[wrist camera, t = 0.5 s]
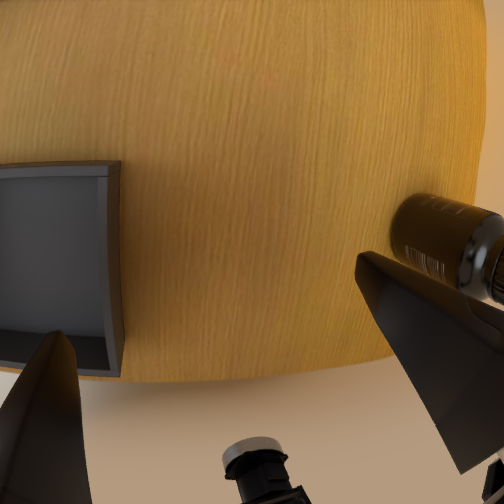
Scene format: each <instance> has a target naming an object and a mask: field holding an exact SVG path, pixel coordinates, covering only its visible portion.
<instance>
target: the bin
mask: <svg viewBox="0 0 504 504" xmlns="http://www.w3.org/2000/svg"><path fill="white" fill-rule="evenodd" d="M120 171H121V161H52V162H29V163H13V164H0V366H2V367H9V368H15V369H24V368H25V366H26V364H27V363H28V361H29V360H30V358H31V357H32V355H33V353H34V352H35V350H36V349H37V347H38V346H39V344H40V343H41V341H42V340H43V338H44V337H45V336H46V334H47V333H48V332H50V331H54V330H61V331H62V332H63V333H64V335H65V336H66V338H67V339H68V340H69V342H70V343H71V345H72V346H73V348H74V350H75V355H76V365H77V373H78V375H81V376H97V377H118V378H119V377H120V374H121V365H122V358H123V350H124V343H125V336H124V326H123V314H122V300H121V283H120V257H119V196H120Z"/></svg>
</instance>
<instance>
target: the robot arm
mask: <svg viewBox="0 0 504 504" xmlns="http://www.w3.org/2000/svg"><path fill="white" fill-rule="evenodd" d="M355 280H356V283H357V285H358V287H359V289H360V291H361V293H362V295H363V297H364V299H365V301H366V303H367V305H368V307H369V309H370V311H371V313H372V315H373V317H374V319H375V321H376V323H377V325H378V326H379V328H380V330H381V331H382V333H383V335H384V336H385V338H386V339H387V341H388V343H389V344H390V346H391V348H392V349H393V351H394V353H395V354H396V356H397V358H398V359H399V361H400V363H401V365H402V366H403V368H404V370H405V372H406V373H407V375H408V377H409V378H410V380H411V382H412V384H413V385H414V387H415V389H416V391H417V392H418V394H419V396H420V398H421V400H422V402H423V403H424V405H425V407H426V409H427V411H428V413H429V414H430V416H431V418H432V420H433V422H434V423H435V424H436V425H435V426H436V428H437V430H438V431H439V433H440V435H441V437H442V439H443V441H444V443H445V445H446V447H447V449H448V451H449V453H450V455H451V457H452V459H453V461H454V463H455V465H456V467H457V469H458V471H459V472H460V474H461V475H462V474H463V473H465V472H467V471H468V470H470V469H472V468H473V467H475V466H476V465H478V464H479V463H481V462H482V461H484V460H486V459H487V458H489V457H490V456H491V455H493V454H494V453H496V452H497V454H498V456H499V457H498V458H497V459H496V460H495V461H494V462H493V463H492V464H490V465H489V466H488V471H487V476H486V481H485V485H484V489H483V493H482V499H483V501H484V503H483V504H504V311H502V310H500V309H497V308H495V307H493V306H490V305H488V304H486V303H484V302H482V301H479V300H477V299H475V298H473V297H471V296H469V295H466V294H465V293H463V292H461V291H459V290H456V289H454V288H452V287H450V286H448V285H446V284H444V283H442V282H439V281H437V280H435V279H433V278H431V277H429V276H427V275H424V274H422V273H420V272H418V271H416V270H413V269H411V268H409V267H407V266H405V265H402V264H400V263H398V262H396V261H393V260H391V259H389V258H387V257H384V256H382V255H380V254H377V253H375V252H373V251H366V252H362V253H360V254H358V256H357V261H356V268H355ZM288 458H289V457H288V455H287V454H278V453H265V452H254V451H246V452H244V453H243V454H242V455H241V457H240V458H239V459H238V460H237V461H236V463H235V464H234V465H233V466H232V467H231V469H230V470H229V471H228V472H227V473H226V475H225V479H226V480H236V483H237V486H238V490H239V493H240V496H241V499H242V503H241V504H312V503H311V502H310V500H309V498H308V496H307V495H306V493H305V491H304V489H303V487H302V485H300V486H297V488H293V489H292V486H291V484H290V482H289V476H288V473H287V471H286V469H285V467H284V464H283V463H284V462H285V461H286V460H287V459H288ZM86 467H87V466H86V458H85V450H84V439H83V427H82V412H81V397H80V389H79V381H78V373H77V365H76V355H75V350H74V348H73V346H72V345H71V343H70V342H69V340H68V339H67V338H66V336H65V335H64V333H63V332H62V331H61V330H54V331H50V332H48V333H47V334H46V336H45V337H44V338H43V340H42V341H41V343H40V344H39V346H38V347H37V349H36V350H35V352H34V353H33V355H32V357H31V358H30V360H29V361H28V363H27V364H26V366H25V368H24V369H23V371H22V372H21V374H20V376H19V377H18V379H17V380H16V382H15V384H14V386H13V387H12V389H11V390H10V392H9V394H8V396H7V397H6V399H5V401H4V402H3V404H2V406H1V408H0V504H92V499H91V493H90V487H89V481H88V474H87V468H86Z"/></svg>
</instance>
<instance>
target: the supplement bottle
mask: <svg viewBox="0 0 504 504" xmlns="http://www.w3.org/2000/svg"><path fill="white" fill-rule="evenodd" d="M392 245H393V249H394V252H395V254H396V256H397V258H398V259H399V260H400V262H401V263H403V264H404V265H406V266H407V267H409V268H411V269H413V270H416V271H418V272H420V273H422V274H424V275H427V276H429V277H431V278H433V279H435V280H437V281H439V282H442V283H444V284H446V285H448V286H450V287H452V288H454V289H456V290H459V291H461V292H463V293H465V294H466V295H469V296H471V297H473V298H475V299H477V300H479V301H483V300H486V299H487V298H490V299H491V300H493V301H494V302H497V303H500V304H502V305H504V218H503V217H502V216H501V215H499V214H497V213H494V212H492V211H488V210H485V209H482V208H479V207H475V206H472V205H468V204H465V203H461V202H458V201H454V200H451V199H447V198H443V197H439V196H436V195H431V194H418V195H415V196H413V197H411V198H410V199H409V200H407V201H406V202H405V203H404V204H403V206H402V207H401V208H400V210H399V212H398V213H397V216H396V218H395V221H394V224H393V229H392Z"/></svg>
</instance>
